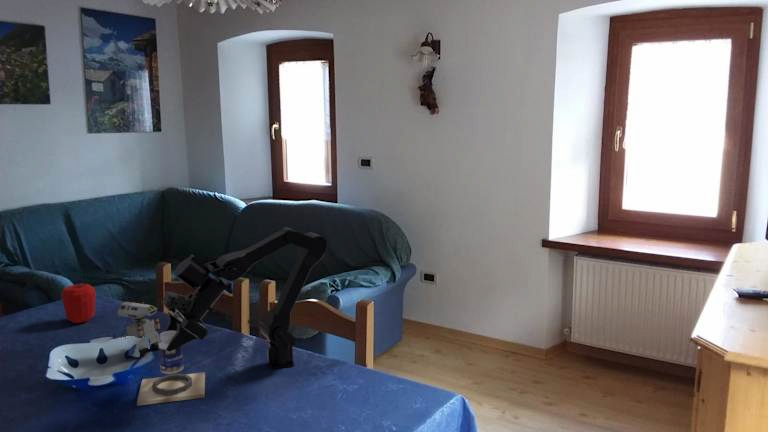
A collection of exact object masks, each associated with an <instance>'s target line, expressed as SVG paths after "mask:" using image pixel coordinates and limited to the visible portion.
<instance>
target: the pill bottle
mask: <svg viewBox="0 0 768 432" xmlns="http://www.w3.org/2000/svg"><path fill="white" fill-rule="evenodd" d="M176 332H177V331H165V330H164V331H163V332H161V333H160V334H159V338H160V343H159V349H158V356H159V357H158V358H159V371H160V372H161V373H162V374H165V375H172V374H178V373H179V372H181V371H182V370H183V369H184V353H183V345H182V346H180V347H178V348H176V349H174V350H172V351H170V352H169V351H167V350H166V349H167V347H168V345H169V343H170V342H171V340H172V339H173V337H174V335H175V334H176Z"/></svg>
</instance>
